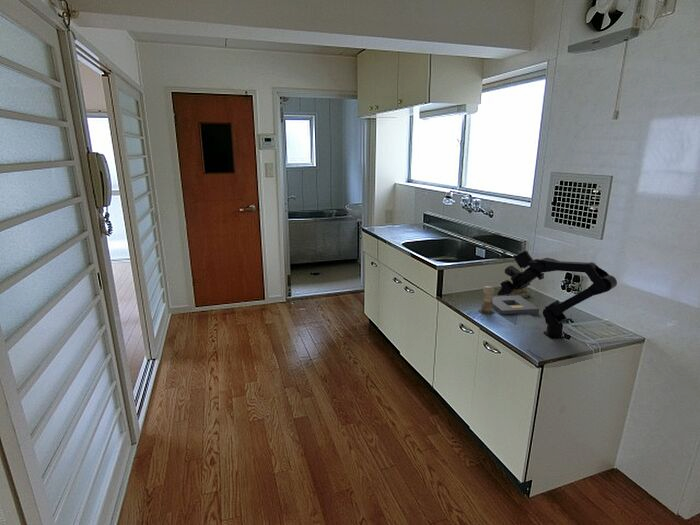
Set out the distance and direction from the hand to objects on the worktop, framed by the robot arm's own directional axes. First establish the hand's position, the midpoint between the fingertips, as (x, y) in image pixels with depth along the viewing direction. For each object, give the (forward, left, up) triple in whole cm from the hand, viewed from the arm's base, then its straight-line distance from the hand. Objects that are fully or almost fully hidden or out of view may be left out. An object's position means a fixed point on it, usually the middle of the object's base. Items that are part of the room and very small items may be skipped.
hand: (502, 292), depth 194 cm
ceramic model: (+33, -25, -14) cm, 44 cm away
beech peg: (+7, +4, -12) cm, 15 cm away
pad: (+7, +4, -13) cm, 16 cm away
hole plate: (+12, -12, -13) cm, 22 cm away
